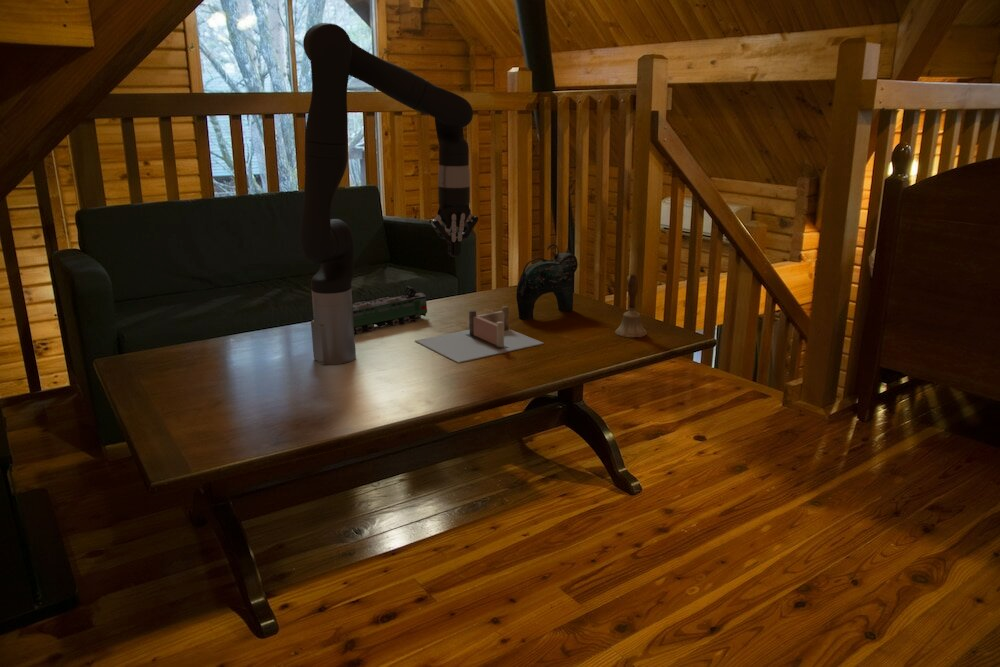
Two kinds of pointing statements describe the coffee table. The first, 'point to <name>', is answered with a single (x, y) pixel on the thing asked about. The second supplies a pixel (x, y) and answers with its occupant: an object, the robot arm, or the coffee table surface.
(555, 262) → the black animal figurine
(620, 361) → the coffee table surface
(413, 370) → the coffee table surface
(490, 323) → the panel
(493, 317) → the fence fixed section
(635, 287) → the hand bell
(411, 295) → the toy train
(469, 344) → the card
